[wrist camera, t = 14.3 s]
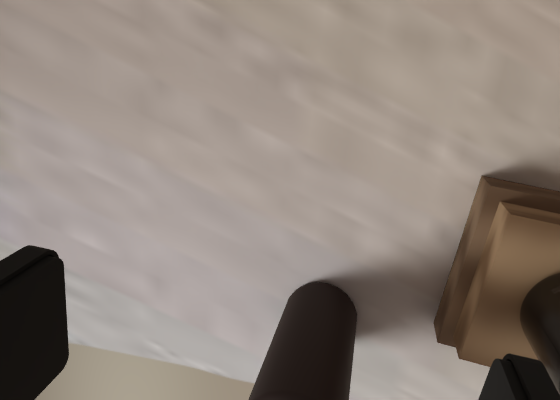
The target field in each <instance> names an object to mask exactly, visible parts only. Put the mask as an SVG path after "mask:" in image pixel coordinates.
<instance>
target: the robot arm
mask: <svg viewBox="0 0 560 400" xmlns="http://www.w3.org/2000/svg"><path fill="white" fill-rule="evenodd" d="M68 356H69V349H68V331H67V314H66V296H65V279H64V264H63V261H62V260H61V259H60V258H59V257H58V254H57V253H56V252H55V251H54V250H50V249H45V248H41V247H36V246H30V245H28V246H26V247H23V248H22V249H20V250H18V251H17V252H15V253H13V254H11V255H10V256H8V257H6V258H4V259H3V260H1V261H0V400H34V399H35V398H36V397H37V396H38V395H39V394H40V393H41V392H42V391H43V390H44V389H45V388H46V387H47V386H48V385H49V384H50V383H51V382H52V381H53V379H54V378H55V377H56V376H57V375H58V374H59V373H60V372H61V371H62V370H63V369H64V367H65V365H66V363H67V360H68ZM479 400H560V395H559V393H558V391H557V389H556V387H555V385H554V383H553V381H552V379H551V378H550V376H549V374H548V372H547V370H546V368H545V366H544V364H543V363H542V362H541V361H539V360H537V359H532V358H528V357H523V356H519V355H514V354H510V353H509V354H506V355H505V356H504V357H503V359H498V358H497V359H495V360H494V361H493V363H492V365H491V367H490V370H489V373H488V376H487V378H486V381H485V384H484V386H483V389H482V392H481V394H480V397H479Z"/></svg>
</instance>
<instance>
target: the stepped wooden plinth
mask: <svg viewBox="0 0 560 400" xmlns="http://www.w3.org/2000/svg"><path fill="white" fill-rule="evenodd" d="M557 273H560V192H559V191H554V190H549V189H544V188H539V187H534V186H529V185H524V184H519V183H515V182H510V181H505V180H500V179H495V178H490V177H485V176H481V179H480V183H479V186H478V189H477V192H476V195H475V198H474V201H473V204H472V207H471V210H470V213H469V216H468V219H467V222H466V225H465V228H464V232H463V235H462V238H461V241H460V244H459V247H458V250H457V253H456V256H455V259H454V262H453V265H452V268H451V271H450V274H449V278H448V281H447V284H446V287H445V290H444V293H443V296H442V299H441V302H440V305H439V308H438V311H437V314H436V317H435V320H434V327H435V332H436V337H437V343H441V344H445V345H449V346H452V347H456V349H457V353H458V357H459V359H462V360H466V361H470V362H474V363H477V364H481V365H485V366H488V367H491V365H492V363H493V361H494V360H495V359H497V358H498V359H503V357H504V356H505V355H506V354H509V353H510V354H514V355H519V356H523V357H528V358H532V359H537V357H536V355H535V353H534V351H533V349H532V348H531V346H530V344H529V342H528V340H527V338H526V336H525V334H524V332H523V329H522V327H521V323H520V309H521V305H522V302H523V300H524V298H525V296H526V295H527V293H528V292H529V291H530V289H531V288H532V287H533V286H534V285H536V284H537V283H538V282H540V281H541V280H543V279H544V278H546V277H548V276H551V275H553V274H557ZM537 360H538V359H537Z"/></svg>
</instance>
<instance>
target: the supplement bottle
mask: <svg viewBox="0 0 560 400" xmlns="http://www.w3.org/2000/svg"><path fill="white" fill-rule="evenodd" d="M520 323H521V327H522V329H523V332H524V334H525V336H526V338H527V340H528V342H529V344H530V346H531V348H532V349H533V351H534V353H535V355H536V357H537V359H538V360H539V361H541V362H542V363H543V364H544V366H545V368H546V370H547V372H548V374H549V376H550V378H551V379H552V381H553V383H554V385H555V387H556V389H557V391H558V393H559V395H560V273H557V274H553V275H551V276H548V277H546V278H544V279H543V280H541V281H540V282H538V283H537V284H536V285H534V286H533V287H532V288H531V289H530V291H529V292H528V293H527V295H526V296H525V298H524V300H523V302H522V305H521V309H520Z"/></svg>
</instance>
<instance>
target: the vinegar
mask: <svg viewBox="0 0 560 400" xmlns="http://www.w3.org/2000/svg"><path fill="white" fill-rule="evenodd" d="M356 322H357V313H356V310H355V307H354V304H353V302H352V301H351V300H350V298H349V297H348V295H347V294H346V293H344V292H343V291H342V290H340V289H339V288H338V287H335V286H332V285H330V284H327V283H317V282H315V283H310V284H306V285H304V286H302V287H300V288H298V289H297V290H295V292H294V293H293V294H292V295H291V296H290V297H289V299H288V302H287V304H286V307H285V309H284V312H283V314H282V317H281V319H280V322H279V324H278V327H277V329H276V332H275V334H274V337H273V340H272V342H271V345H270V347H269V350H268V352H267V355H266V357H265V360H264V362H263V365H262V367H261V370H260V372H259V375H258V377H257V380H256V382H255V385H254V387H253V390H252V392H251V395H250V397H249V400H349V392H350V382H351V372H352V362H353V353H354V343H355V333H356Z"/></svg>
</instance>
